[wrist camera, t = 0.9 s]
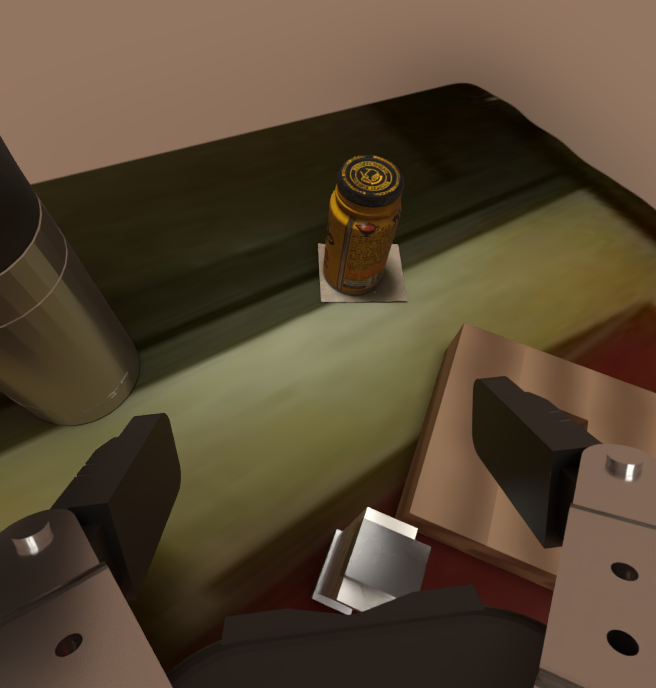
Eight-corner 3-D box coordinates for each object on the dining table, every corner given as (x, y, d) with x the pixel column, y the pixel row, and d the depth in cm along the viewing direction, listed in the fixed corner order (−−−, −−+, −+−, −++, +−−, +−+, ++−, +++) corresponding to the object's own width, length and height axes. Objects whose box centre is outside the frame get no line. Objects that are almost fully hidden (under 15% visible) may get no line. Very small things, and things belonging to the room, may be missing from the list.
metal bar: (310, 597, 31) (332, 611, 15) (333, 533, 33) (374, 486, 17) (344, 613, 30) (405, 646, 14) (366, 547, 32) (439, 514, 17)
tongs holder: (393, 521, 33) (409, 512, 29) (445, 350, 41) (464, 322, 36) (604, 613, 31) (655, 618, 27) (618, 416, 39) (660, 395, 35)
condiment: (317, 244, 46) (326, 143, 35) (397, 245, 47) (429, 147, 36) (320, 303, 42) (331, 210, 32) (407, 303, 43) (445, 212, 33)
